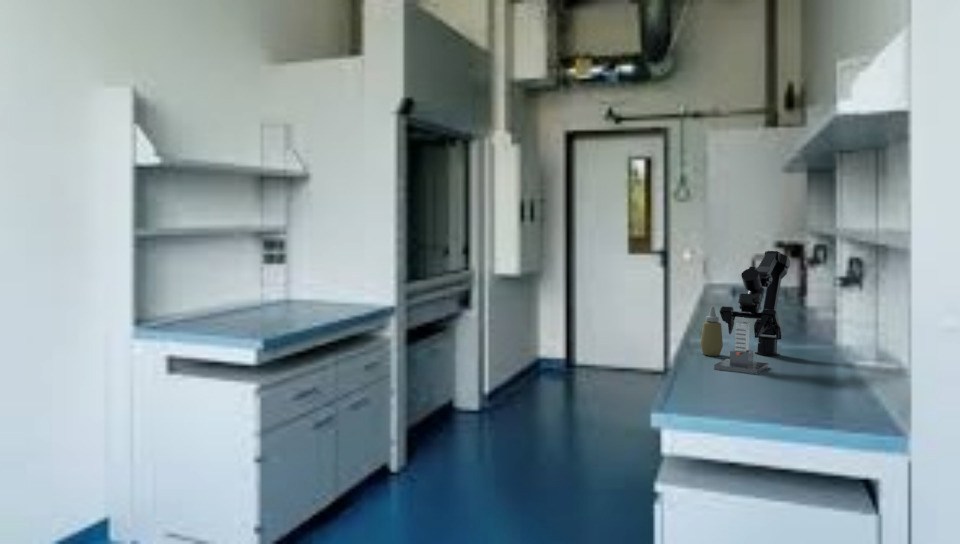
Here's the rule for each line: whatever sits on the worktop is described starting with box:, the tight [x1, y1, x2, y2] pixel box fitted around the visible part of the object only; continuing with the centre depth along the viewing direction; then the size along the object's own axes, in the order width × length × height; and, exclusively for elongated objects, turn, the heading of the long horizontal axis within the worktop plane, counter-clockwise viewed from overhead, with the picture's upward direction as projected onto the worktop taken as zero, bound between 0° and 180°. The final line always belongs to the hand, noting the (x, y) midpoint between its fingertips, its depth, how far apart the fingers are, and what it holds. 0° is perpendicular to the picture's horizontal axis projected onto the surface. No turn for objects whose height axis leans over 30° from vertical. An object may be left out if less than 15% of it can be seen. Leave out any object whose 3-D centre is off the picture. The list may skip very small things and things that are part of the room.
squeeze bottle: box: [699, 306, 724, 357], centre depth 280 cm, size 8×8×18 cm
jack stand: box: [713, 348, 769, 375], centre depth 255 cm, size 14×14×6 cm
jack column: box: [734, 321, 751, 353], centre depth 254 cm, size 4×4×10 cm
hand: (743, 334), depth 255 cm, fingers open, 9 cm apart
